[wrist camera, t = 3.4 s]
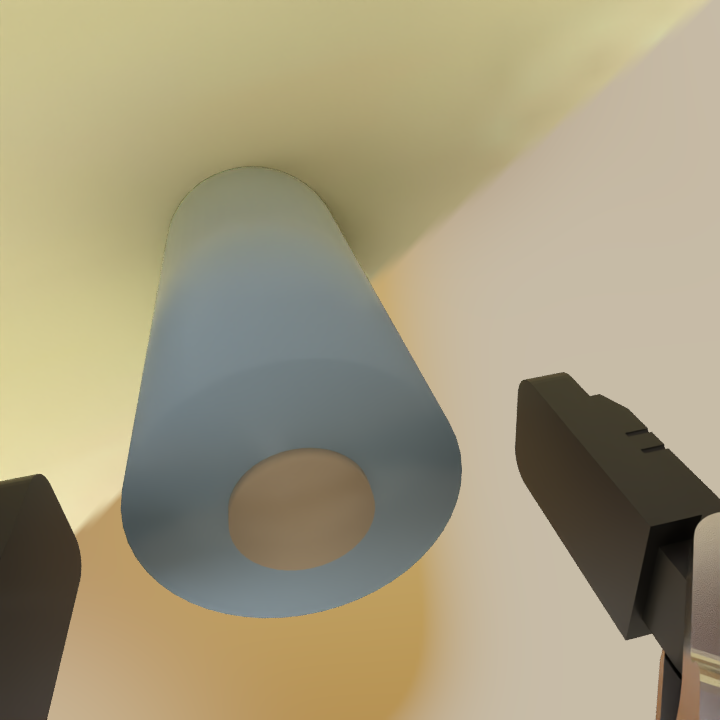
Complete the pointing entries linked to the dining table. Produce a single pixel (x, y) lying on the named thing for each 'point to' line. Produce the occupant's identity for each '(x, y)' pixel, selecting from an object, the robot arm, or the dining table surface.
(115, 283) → the dining table surface
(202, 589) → the roll
